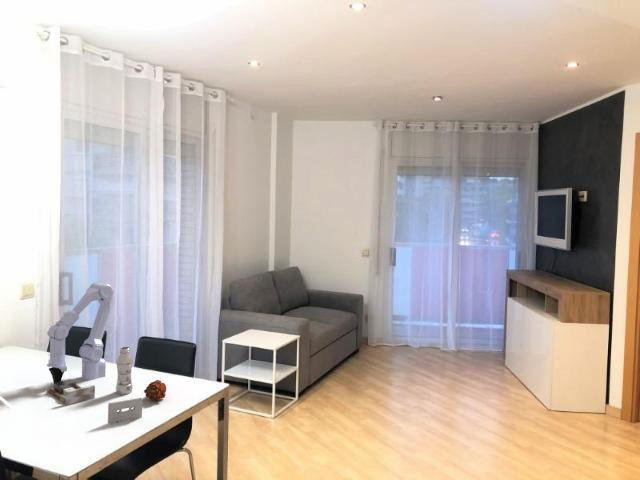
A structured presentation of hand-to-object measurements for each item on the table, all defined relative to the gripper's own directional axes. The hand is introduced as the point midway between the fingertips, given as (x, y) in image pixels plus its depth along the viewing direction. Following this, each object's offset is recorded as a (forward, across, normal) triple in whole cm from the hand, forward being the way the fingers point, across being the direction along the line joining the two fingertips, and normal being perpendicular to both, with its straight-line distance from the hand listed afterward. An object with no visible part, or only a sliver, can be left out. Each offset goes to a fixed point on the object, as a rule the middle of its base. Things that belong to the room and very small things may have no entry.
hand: (57, 383), depth 210 cm
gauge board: (+2, +13, 0) cm, 14 cm away
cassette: (+2, +49, +5) cm, 50 cm away
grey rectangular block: (+1, +8, 0) cm, 8 cm away
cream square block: (+1, +13, 0) cm, 13 cm away
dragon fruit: (+2, +38, +24) cm, 45 cm away
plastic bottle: (+2, +25, +17) cm, 31 cm away
